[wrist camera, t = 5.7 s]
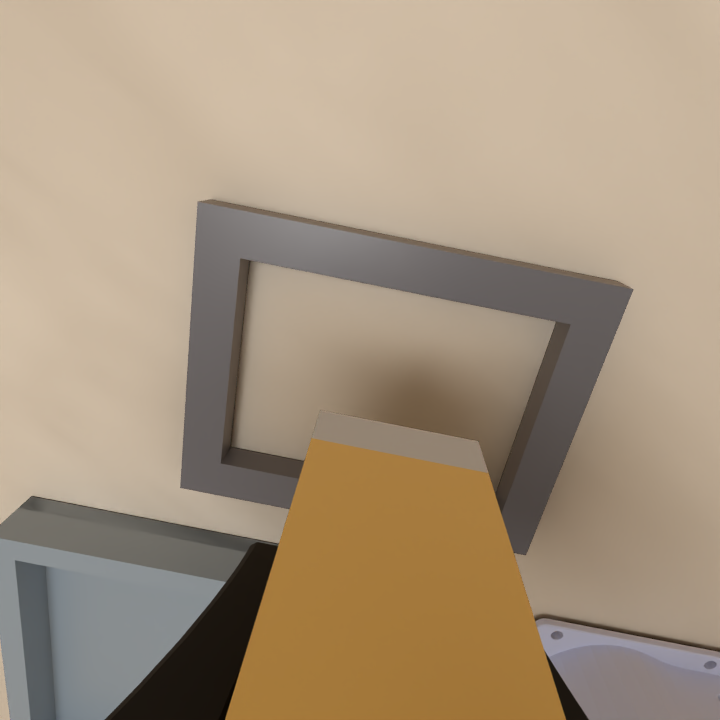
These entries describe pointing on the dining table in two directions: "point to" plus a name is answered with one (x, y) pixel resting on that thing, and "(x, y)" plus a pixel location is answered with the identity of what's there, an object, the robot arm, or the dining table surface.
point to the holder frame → (401, 272)
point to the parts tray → (98, 602)
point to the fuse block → (394, 590)
